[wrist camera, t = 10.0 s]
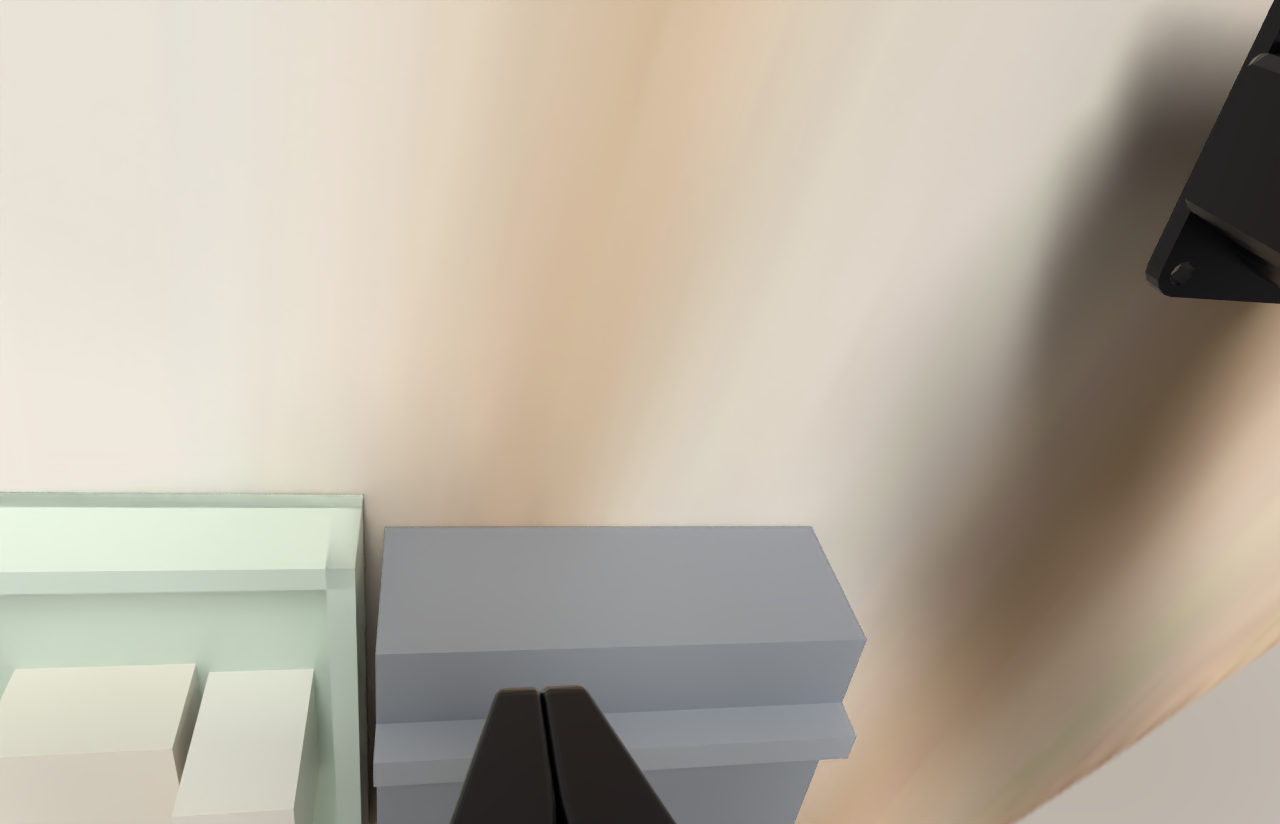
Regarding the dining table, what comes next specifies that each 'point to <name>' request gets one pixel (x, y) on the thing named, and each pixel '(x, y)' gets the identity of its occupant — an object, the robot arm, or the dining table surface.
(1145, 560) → the dining table surface
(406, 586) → the bench board
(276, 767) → the tile
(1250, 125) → the robot arm
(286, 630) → the tray
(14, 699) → the tile
